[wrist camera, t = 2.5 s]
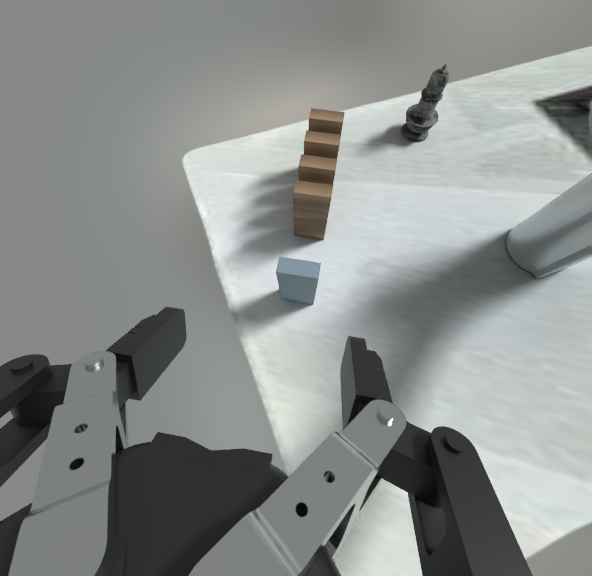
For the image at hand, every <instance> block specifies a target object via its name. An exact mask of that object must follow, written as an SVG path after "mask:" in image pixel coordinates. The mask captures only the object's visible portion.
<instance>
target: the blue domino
mask: <svg viewBox="0 0 592 576" xmlns="http://www.w3.org/2000/svg"><path fill="white" fill-rule="evenodd" d="M320 265H321V263H317V262H310V261H304V260H297V259H291V258H284V257H279V261H278V266H277V270H276V274H277V279H278V284H279V289H280V294H281V299H283V300H289V301H295V302H301V303H307V304H313V303H314V298H315V293H316V288H317V283H318V277H319V271H320Z"/></svg>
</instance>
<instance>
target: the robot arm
mask: <svg viewBox="0 0 592 576" xmlns="http://www.w3.org/2000/svg"><path fill="white" fill-rule="evenodd" d="M506 246H507V250H508V252H509V254H510V256H511V257H512V259H513V260H514V261H515V262H516V263H517V264H518V265H519V266H521V267H522V268H523V269H525V270H527V271H529V272H531V273H532V274H533V275H534V276H535V277H536V278H537V279H538V278H541V277H544V276H546V275H549V274H551V273H554V272H557V271H559V270H562V269H564V268H567V267H569V266H572V265H574V264H577V263H579V262H581V261H584V260H586V259H588V258H591V257H592V173H591V174H589V175H588V176H587V177H585V178H584V179H582V180H581V181H580V182H578V183H577V184H575V185H574V186H573V187H571V188H570V189H568V190H567V191H566V192H564V193H563V194H561V195H560V196H558V197H557V198H556V199H554V200H553V201H551V202H550V203H549V204H547V205H546V206H544V207H543V208H542V209H540V210H539V211H537V212H536V213H534V214H533V215H532V216H530V217H529V218H528V219H526V220H524V221H523V222H521V223H520V224H519V225H518V226H516V227H515V228H514V229H512V230H511V231H510V233H509V234H508V236H507V239H506ZM185 341H186V324H185V313H184V310H183V309H178V308H172V307H165V308H164V309H163V310H162V311H160V312H159V313H158V314H157V315H153V316H150V317H148V318H146V319H144V320H142V321H141V322H140V323H138V324H137V325H136V326H135V328H132V329H131V330H130V331H129V332H128V333H126V334H125V335H124V336H123V337H121V338H120V339H119V340H118V341H117V342H115V343H114V344H113V345H112V346H111V347H109V348H108V349H107V350H106V351H98V352H93V353H90V354H87V355H84V356H83V357H80V358H79V359H77V360H76V361H75V362H74V363H73V364H68V365H52V366H50V363H49V360H48V358H47V357H46V356H44V355H37V354H35V355H27V356H22V357H19V358H16V359H13V360H11V361H9V362H7V363H5V364H4V365H2V366H1V367H0V418H1V417H2V416H3V415H5V414H6V413H7V412H8V411H11V413H12V415H13V417H14V418H13V419H12V420H10V421H9V422H8V423H7V424H6V425H4V426H3V427H2V428H1V429H0V487H1V486H2V485H3V484H4V483H5V482H6V480H7V479H8V478H9V477H10V476H11V475H12V474H13V473H14V472H15V471H16V470H17V469H18V468H19V467H20V466H21V465H22V464H23V463H24V462H25V461H26V460H27V459H28V458H29V456H31V455H32V453H33V452H34V451H35V450H36V449H37V448H38V447H39V446H40V445H41V444H42V443H43V442H44V441H45V440H46V439H47V442H46V447H45V451H44V455H43V460H42V464H41V469H40V473H39V477H38V481H37V486H36V490H35V494H34V499H33V502H32V503H31V504H29V505H27V506H26V507H24V508H22V509H20V510H19V511H17V512H16V513H14V514H12V515H10V516H9V517H7V518H5V519H4V520H2V521H0V576H341V575H340V573H339V571H338V569H337V567H336V565H335V563H334V561H333V559H334V557H335V556H336V554H337V553H338V551H339V549H340V548H341V546H342V545H343V543H344V542H345V540H346V538H347V537H348V535H349V533H350V531H351V529H352V527H353V525H354V524H355V522H356V520H357V518H358V517H359V515H360V513H361V512H362V510H363V509H364V507H365V506H366V504H367V503H368V501H369V499H370V498H371V496H372V495H373V493H374V492H375V490H376V489H377V487H378V485H379V484H380V482H381V481H382V479H384V480H386V481H388V482H390V483H392V484H394V485H395V486H397V487H399V488H401V489H403V490H405V491H406V492H408V497H409V502H410V508H411V513H412V519H413V524H414V530H415V535H416V541H417V546H418V552H419V557H420V563H421V568H422V574H423V576H532V573H531V571H530V569H529V567H528V565H527V562H526V560H525V558H524V556H523V553H522V551H521V549H520V547H519V544H518V542H517V540H516V538H515V536H514V533H513V531H512V529H511V527H510V524H509V522H508V520H507V518H506V516H505V513H504V511H503V509H502V507H501V504H500V502H499V500H498V498H497V495H496V493H495V491H494V489H493V487H492V484H491V482H490V480H489V478H488V475H487V473H486V471H485V469H484V467H483V464H482V462H481V460H480V458H479V455H478V453H477V451H476V449H475V447H474V446H473V444H472V443H471V442H470V441H469V440H468V439H467V438H466V437H465V436H464V435H462V434H461V433H459V432H458V431H456V430H454V429H451V428H448V427H437V428H435V429H434V430H433V431H432V433H430V432H427V431H425V430H423V429H421V428H419V427H416V426H414V425H412V424H410V423H409V422H407V421H406V419H405V416H404V414H403V413H402V412H401V410H400V409H399V408H398V407H396V406H395V405H394V404H393V403H392V399H391V395H390V391H389V387H388V384H387V380H386V377H385V372H384V370H383V364H382V360H381V359H380V357H379V356H378V355H377V353H376V352H375V351H370V350H367V347H366V342H365V339H363V338H357V337H351V336H349V337H348V339H347V343H346V347H345V351H344V355H343V359H342V364H341V396H342V417H343V431H342V432H341V433H340V434H338V433H337V432H333V433H332V434H331V435H330V436H329V437H328V438H327V439H326V440H325V441H324V442H323V443H322V444H321V445H320V446H319V447H318V448H317V449H316V450H315V451H314V452H313V453H312V454H311V455H310V456H309V457H308V458H307V459H306V460H305V461H304V462H303V463H302V464H301V465H300V466H299V467H298V468H297V469H296V470H295V471H294V472H293V473H292V474H291V475H290V476H289V477H288V476H287V475H286V474H285V473H284V472H283V471H281V470H280V469H279V468H277V467H275V466H274V465H272V464H271V462H272V454H269V453H263V452H258V451H253V450H248V449H231V450H215V451H212V450H209V449H207V448H205V447H203V446H201V445H199V444H197V443H195V442H193V441H191V440H189V439H187V438H185V437H181V436H175V435H170V434H165V433H160V432H158V433H157V434H156V436H155V437H154V439H153V440H152V442H146V443H141V444H137V445H134V446H131V447H129V444H128V419H127V418H128V417H127V405H126V401H127V400H128V399H129V398H130V399H134V400H141V399H142V398H143V396H144V395H145V394H146V393H147V392H148V390H149V389H150V388H151V386H152V385H153V384H154V383H155V382H156V380H157V379H158V378H159V377H160V375H161V374H162V373H163V372H164V370H165V369H166V368H167V367H168V365H169V364H170V363H171V362H172V360H173V359H174V358H175V357H176V356H177V354H178V353H179V352H180V351H181V349H182V348H183V346H184V344H185Z"/></svg>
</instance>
